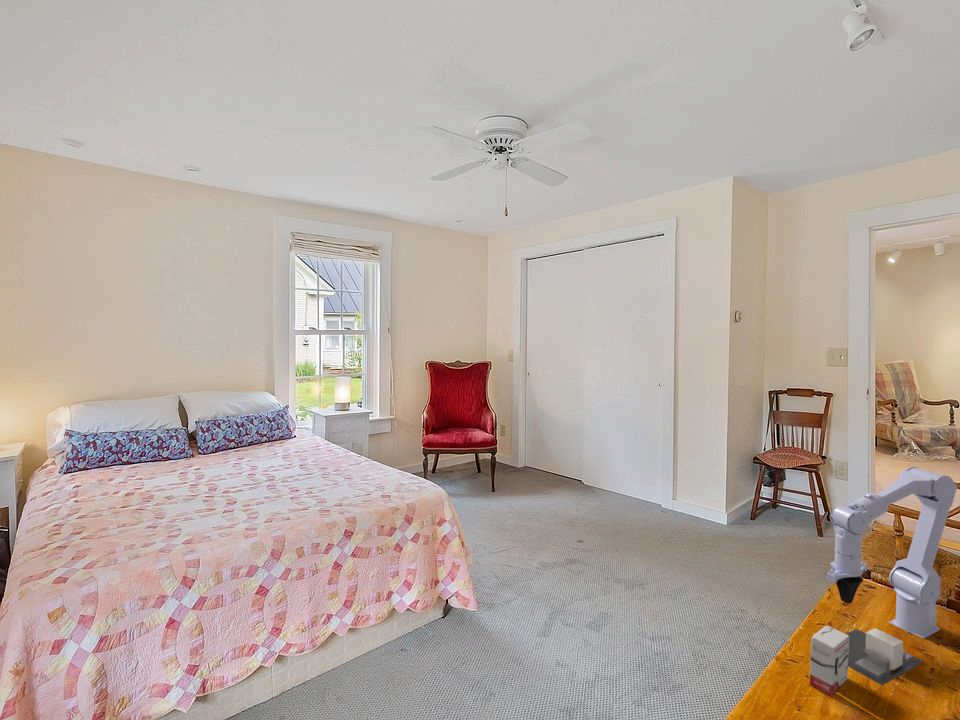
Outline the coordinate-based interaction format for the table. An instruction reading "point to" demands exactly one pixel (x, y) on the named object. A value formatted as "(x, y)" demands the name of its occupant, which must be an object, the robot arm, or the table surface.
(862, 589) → the table surface
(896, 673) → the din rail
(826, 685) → the ink box
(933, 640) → the table surface
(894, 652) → the block
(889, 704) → the table surface
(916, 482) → the robot arm
